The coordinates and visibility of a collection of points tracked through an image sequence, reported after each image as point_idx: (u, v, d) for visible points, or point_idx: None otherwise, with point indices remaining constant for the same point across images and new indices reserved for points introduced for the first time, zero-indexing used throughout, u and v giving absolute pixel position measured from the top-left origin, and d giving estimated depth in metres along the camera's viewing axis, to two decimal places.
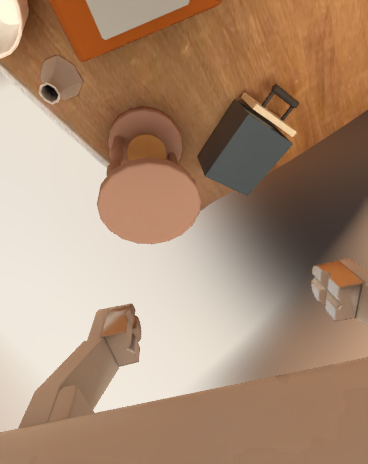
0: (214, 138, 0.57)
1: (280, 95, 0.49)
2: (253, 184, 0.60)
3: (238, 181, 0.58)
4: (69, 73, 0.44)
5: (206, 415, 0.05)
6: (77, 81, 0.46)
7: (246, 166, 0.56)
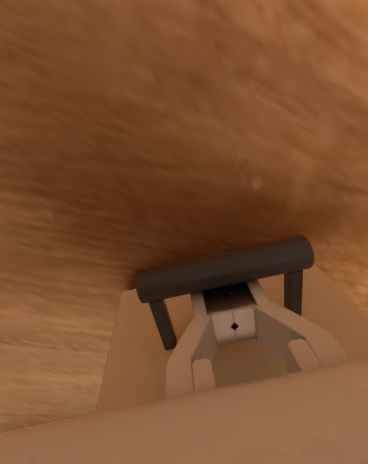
0: None
1: (190, 292, 0.10)
2: None
3: None
4: None
5: (206, 415, 0.05)
6: None
7: None
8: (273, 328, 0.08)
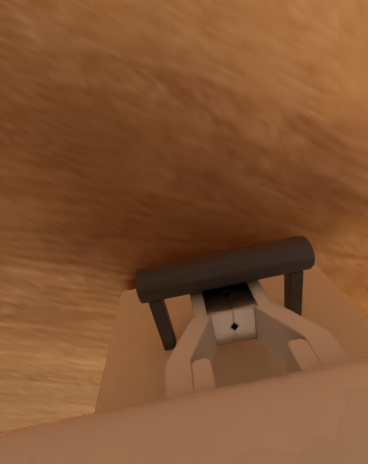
0: None
1: (190, 293, 0.10)
2: None
3: None
4: None
5: (206, 415, 0.05)
6: None
7: None
8: (273, 328, 0.08)
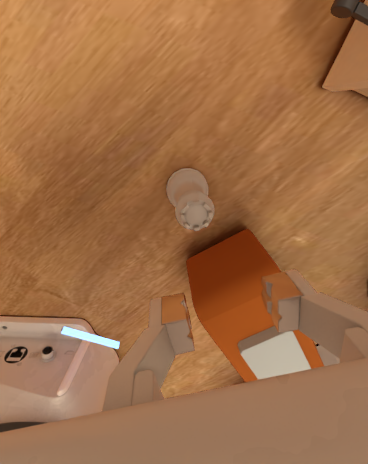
0: None
1: None
2: None
3: None
4: (325, 363, 0.38)
5: (206, 415, 0.05)
6: (331, 353, 0.38)
7: None
8: (322, 318, 0.08)
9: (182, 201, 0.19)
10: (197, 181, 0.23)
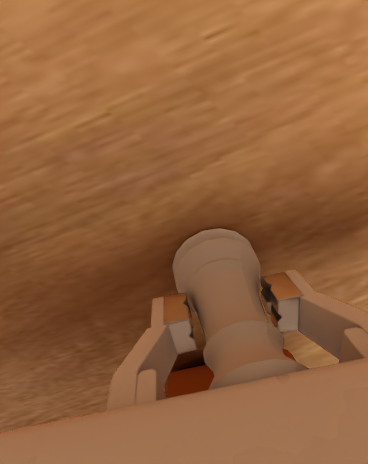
0: None
1: None
2: None
3: None
4: None
5: (206, 415, 0.05)
6: None
7: None
8: (321, 318, 0.08)
9: (243, 378, 0.06)
10: (251, 272, 0.10)
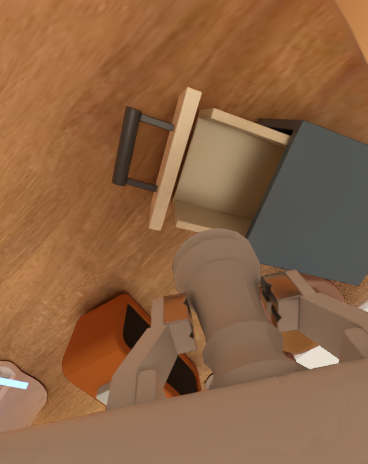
0: None
1: (126, 165, 0.23)
2: None
3: None
4: None
5: (206, 415, 0.05)
6: None
7: (350, 215, 0.24)
8: (321, 318, 0.08)
9: (243, 378, 0.06)
10: (251, 272, 0.10)
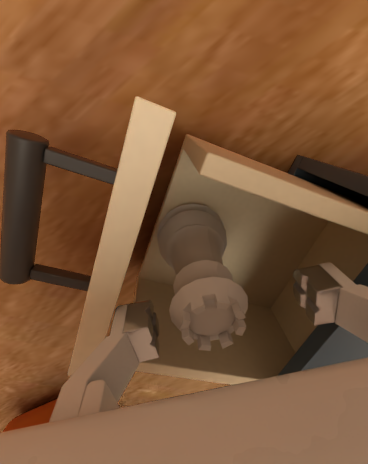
0: None
1: (22, 250, 0.11)
2: None
3: None
4: None
5: (206, 415, 0.05)
6: None
7: None
8: (364, 309, 0.08)
9: (193, 288, 0.09)
10: (216, 235, 0.13)
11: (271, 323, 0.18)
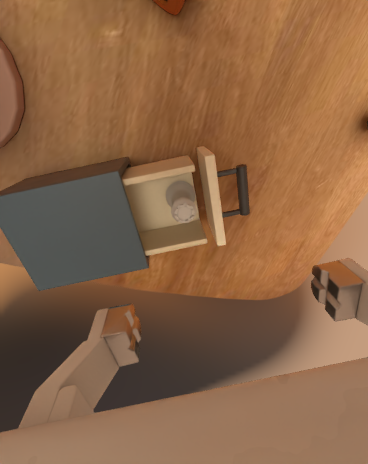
0: (63, 173, 0.33)
1: (240, 182, 0.32)
2: (60, 280, 0.33)
3: (39, 256, 0.31)
4: None
5: (206, 415, 0.05)
6: None
7: (66, 244, 0.30)
8: None
9: (193, 216, 0.31)
10: None
11: None
